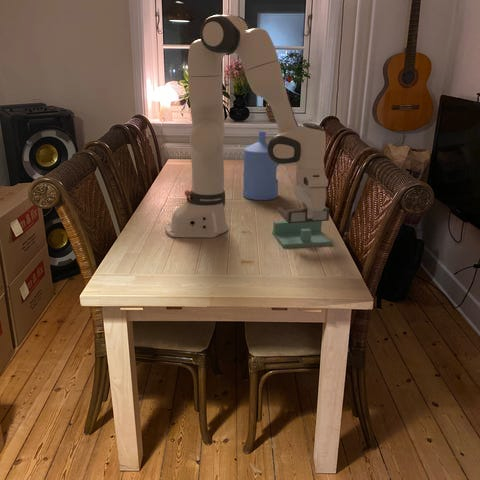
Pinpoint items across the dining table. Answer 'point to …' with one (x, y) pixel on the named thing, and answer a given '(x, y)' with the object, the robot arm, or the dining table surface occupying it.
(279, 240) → the display stand
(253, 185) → the water jug
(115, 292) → the dining table surface
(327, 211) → the glasses frame
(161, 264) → the dining table surface
